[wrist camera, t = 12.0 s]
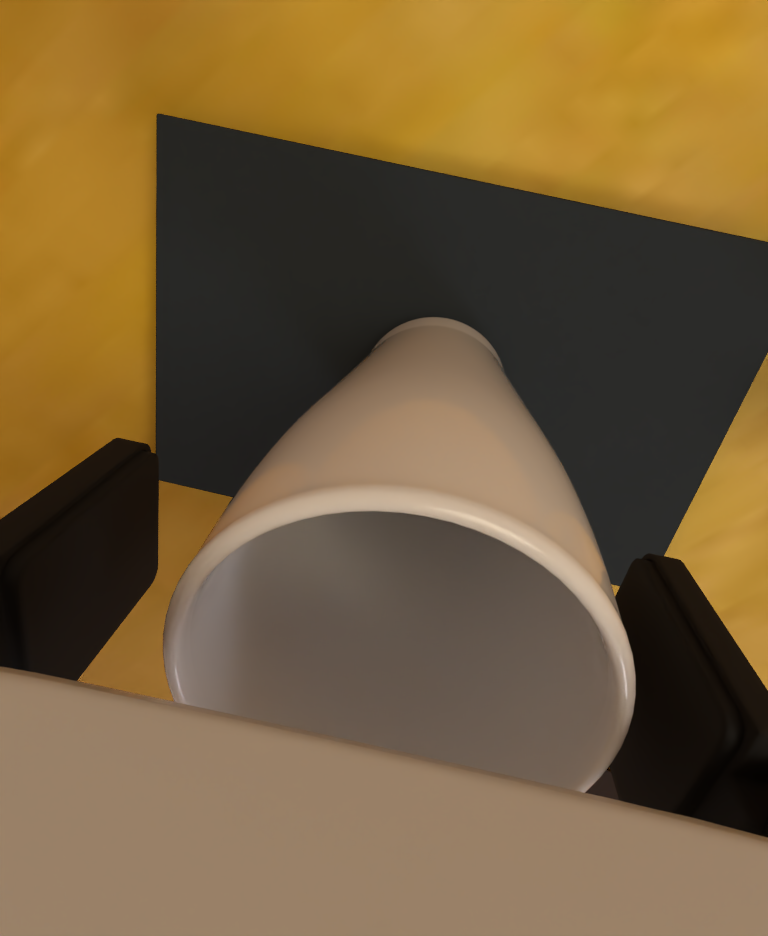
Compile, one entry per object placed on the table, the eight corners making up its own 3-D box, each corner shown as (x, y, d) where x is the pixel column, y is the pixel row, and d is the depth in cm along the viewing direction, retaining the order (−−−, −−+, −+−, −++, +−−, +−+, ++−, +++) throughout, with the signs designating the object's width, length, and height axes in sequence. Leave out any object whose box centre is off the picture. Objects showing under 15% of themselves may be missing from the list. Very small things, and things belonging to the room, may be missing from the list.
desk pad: (161, 473, 25) (155, 479, 25) (164, 115, 19) (155, 112, 18) (641, 584, 24) (645, 592, 24) (808, 251, 18) (819, 252, 18)
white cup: (557, 333, 20) (764, 612, 6) (478, 488, 23) (507, 900, 9) (379, 263, 19) (201, 399, 6) (324, 429, 22) (122, 767, 9)
